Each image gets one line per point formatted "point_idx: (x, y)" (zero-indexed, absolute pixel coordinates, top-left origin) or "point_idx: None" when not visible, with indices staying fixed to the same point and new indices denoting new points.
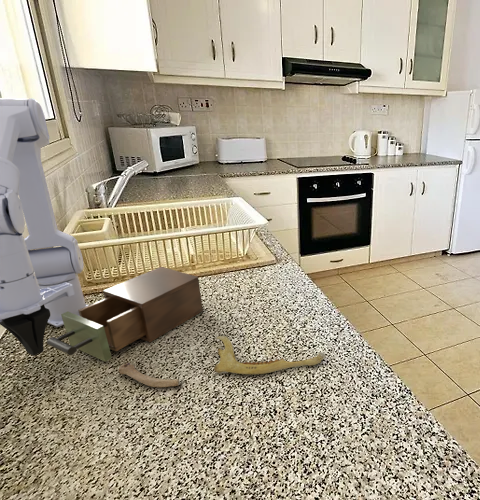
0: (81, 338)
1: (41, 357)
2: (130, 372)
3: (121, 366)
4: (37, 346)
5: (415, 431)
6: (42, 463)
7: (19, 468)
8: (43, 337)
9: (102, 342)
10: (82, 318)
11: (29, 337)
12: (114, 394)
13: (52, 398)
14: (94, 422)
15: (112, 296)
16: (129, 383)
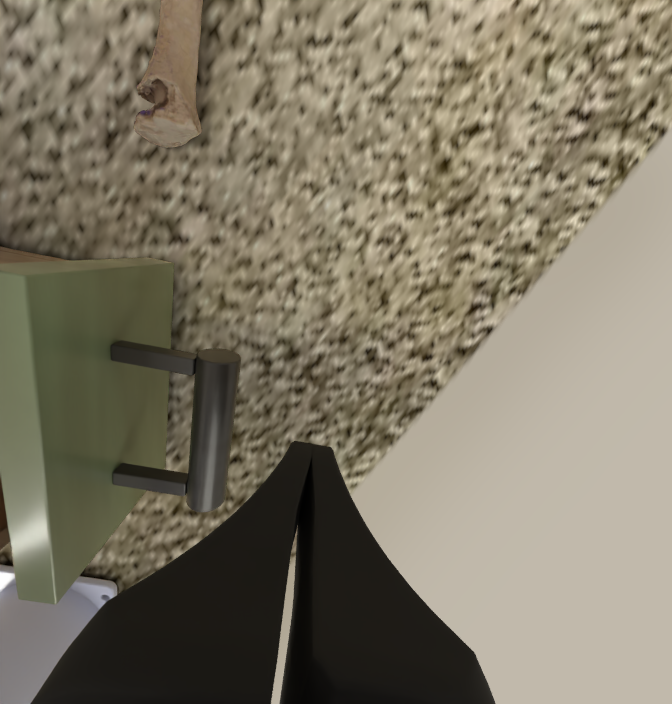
0: (129, 417)
1: (239, 501)
2: (182, 50)
3: (173, 116)
4: (308, 467)
5: None
6: (631, 36)
7: (650, 103)
8: (265, 482)
9: (101, 266)
10: (8, 475)
11: (340, 525)
12: (294, 75)
13: (373, 299)
14: (440, 14)
15: None
16: (222, 65)
